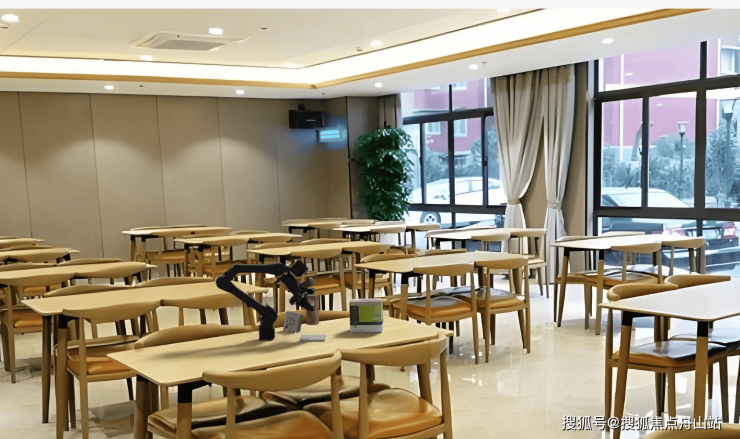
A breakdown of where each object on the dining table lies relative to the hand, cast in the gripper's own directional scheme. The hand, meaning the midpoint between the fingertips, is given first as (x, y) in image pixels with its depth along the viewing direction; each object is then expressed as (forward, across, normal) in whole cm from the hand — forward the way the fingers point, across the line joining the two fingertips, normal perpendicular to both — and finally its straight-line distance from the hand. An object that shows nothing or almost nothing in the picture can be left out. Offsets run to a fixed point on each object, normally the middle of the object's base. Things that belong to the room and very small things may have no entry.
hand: (315, 309), depth 320 cm
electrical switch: (-3, +15, +22) cm, 27 cm away
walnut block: (+4, 0, +6) cm, 7 cm away
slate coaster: (+8, 0, +10) cm, 13 cm away
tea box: (+21, +23, -2) cm, 31 cm away
